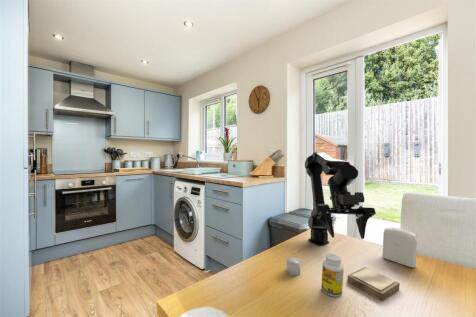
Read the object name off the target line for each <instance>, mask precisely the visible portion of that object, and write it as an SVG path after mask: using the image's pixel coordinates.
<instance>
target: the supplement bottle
mask: <svg viewBox="0 0 476 317" xmlns="http://www.w3.org/2000/svg"><path fill="white" fill-rule="evenodd" d="M321 267H322V269H321V270H322V271H321V290H322V291H323V292H324V294H326V295H328V296H331V297H334V298H335V297H340V296H342V294H343V289H344V287H343V286H344V272H345V271H344V270H345V268H344V265H343V264H342V258H341V256H339V255H337V254H335V253H326V254H325V259H324V260H323V261H322V266H321Z"/></svg>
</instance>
